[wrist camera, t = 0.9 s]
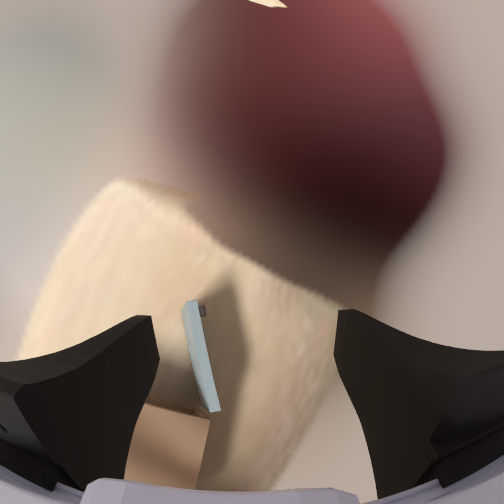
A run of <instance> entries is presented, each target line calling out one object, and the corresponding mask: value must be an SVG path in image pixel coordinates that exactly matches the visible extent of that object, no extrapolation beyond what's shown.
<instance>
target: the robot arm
mask: <svg viewBox="0 0 504 504" xmlns="http://www.w3.org/2000/svg"><path fill="white" fill-rule="evenodd" d="M334 358H335V362H336V365H337V369H338V372H339V375H340V377H341V380H342V382H343V384H344V386H345V388H346V390H347V393H348V395H349V397H350V399H351V401H352V404H353V406H354V408H355V410H356V412H357V414H358V417H359V419H360V422H361V425H362V428H363V432H364V435H365V439H366V442H367V446H368V450H369V454H370V458H371V463H372V468H373V473H374V478H375V483H376V489H377V497H378V500H375V501H371V502H367V503H363V504H504V351H480V350H467V349H461V348H455V347H450V346H444V345H440V344H436V343H432V342H429V341H426V340H423V339H419V338H416V337H414V336H411V335H409V334H406V333H404V332H402V331H399V330H397V329H395V328H393V327H391V326H388V325H386V324H384V323H382V322H380V321H378V320H376V319H374V318H372V317H370V316H368V315H366V314H364V313H362V312H360V311H357V310H355V309H348V310H338V320H337V329H336V338H335V347H334ZM159 360H160V358H159V353H158V349H157V344H156V339H155V334H154V329H153V324H152V318H151V316H145V315H136V316H133V317H131V318H129V319H127V320H125V321H123V322H121V323H119V324H117V325H115V326H113V327H112V328H110V329H108V330H106V331H104V332H102V333H100V334H98V335H96V336H94V337H92V338H90V339H88V340H86V341H84V342H82V343H80V344H77V345H75V346H72V347H70V348H67V349H64V350H62V351H59V352H55V353H52V354H48V355H44V356H40V357H36V358H31V359H26V360H19V361H11V362H0V504H360V503H359V500H358V497H357V495H354V494H351V493H347V492H344V491H340V490H337V489H333V488H309V489H289V490H276V491H254V492H226V491H205V490H192V489H182V488H173V487H166V486H159V485H153V484H147V483H142V482H137V481H132V480H124V475H125V469H126V463H127V458H128V453H129V448H130V444H131V440H132V436H133V432H134V428H135V426H136V423H137V420H138V417H139V415H140V413H141V410H142V408H143V406H144V403H145V401H146V399H147V396H148V394H149V391H150V389H151V387H152V384H153V382H154V379H155V376H156V372H157V368H158V364H159Z"/></svg>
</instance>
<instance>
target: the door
mask: <svg viewBox="0 0 504 504" xmlns="http://www.w3.org/2000/svg"><path fill="white" fill-rule="evenodd" d="M181 312H182V317H183V323H184V328H185V333H186V338H187V343H188V348H189V353H190V358H191V363H192V367H193V372H194V376H195V380H196V385H197V389H198V393H199V397H200V401H201V405H202V406H204V407H205V408H206V409H207V410H208V411H209V412H211V413H212V412H216V411H221V408H220V404H219V400H218V396H217V392H216V388H215V384H214V379H213V375H212V370H211V366H210V362H209V357H208V352H207V348H206V343H205V338H204V333H203V328H202V323H201V318H200V317H205V316H206V310H205V306H204V304H203V305H198V302H197V300H192V301H187V302H186V304H185V306H184V307H183V309H182V311H181Z"/></svg>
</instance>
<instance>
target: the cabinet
mask: <svg viewBox="0 0 504 504" xmlns="http://www.w3.org/2000/svg"><path fill="white" fill-rule="evenodd" d="M210 421H211V420H210V419H209V418H208V417H207V416H206V415H205V414H204V413H203V412H202V411H201V410H198V409H194V408H189V407H185V406H181V405H177V404H173V403H169V402H165V401H162V400H158V399H154V398H151V397H147V399H146V401H145V403H144V406H143V408H142V410H141V413H140V415H139V417H138V420H137V423H136V426H135V428H134V432H133V436H132V440H131V444H130V448H129V453H128V458H127V463H126V469H125V475H124V480H132V481H137V482H142V483H147V484H153V485H159V486H166V487H173V488H182V489H192V490H196V485H197V481H198V476H199V471H200V467H201V462H202V458H203V453H204V448H205V444H206V439H207V435H208V430H209V425H210Z"/></svg>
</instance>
